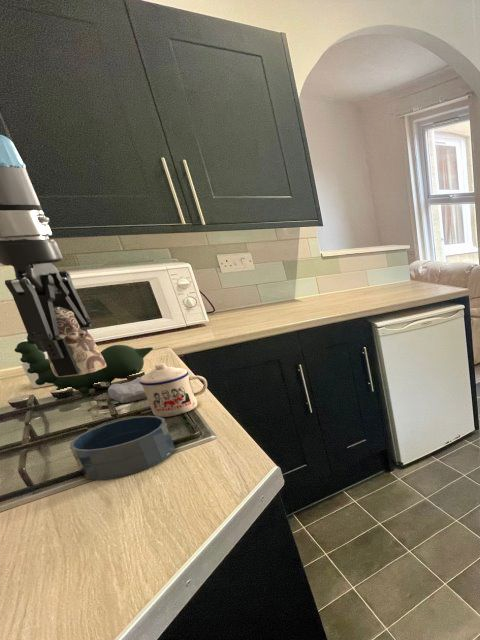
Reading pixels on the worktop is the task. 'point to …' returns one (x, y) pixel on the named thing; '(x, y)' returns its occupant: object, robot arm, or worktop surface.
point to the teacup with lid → (170, 390)
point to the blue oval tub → (122, 447)
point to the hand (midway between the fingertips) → (80, 367)
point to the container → (34, 376)
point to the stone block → (127, 391)
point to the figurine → (78, 343)
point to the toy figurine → (118, 366)
